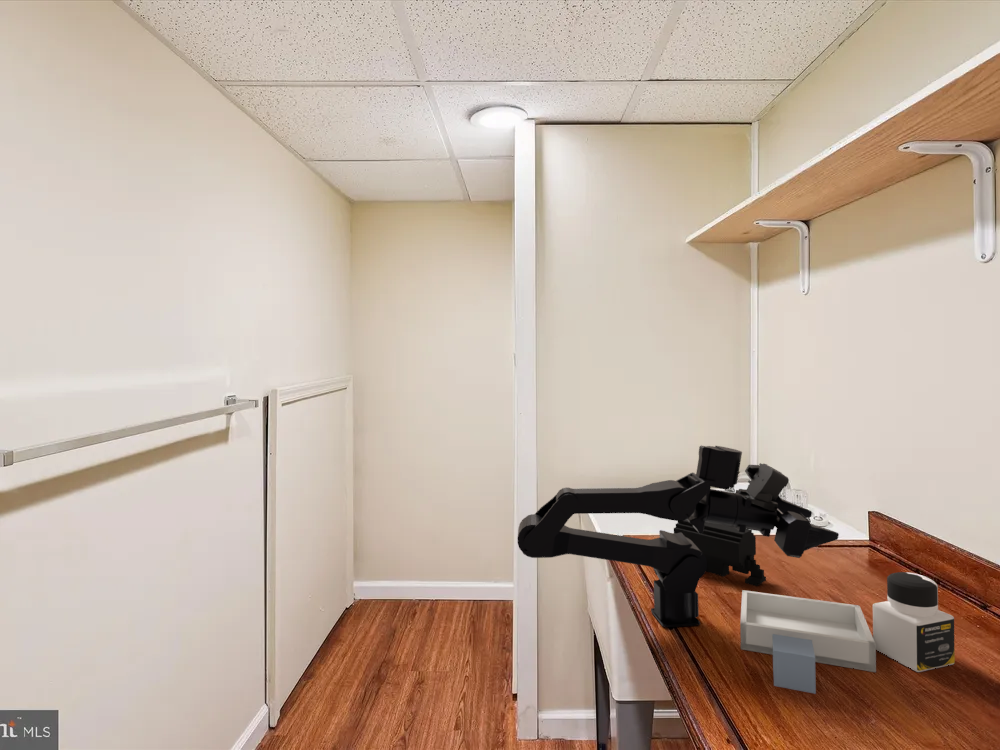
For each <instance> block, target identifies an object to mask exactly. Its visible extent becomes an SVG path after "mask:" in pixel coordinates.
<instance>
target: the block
mask: <svg viewBox="0 0 1000 750" xmlns="http://www.w3.org/2000/svg"><path fill="white" fill-rule="evenodd" d="M772 637H773V655H772V671H773V672H772V674H773V686H774V687H778V688H784V689H789V690H794V691H799V692H805V693H810V694H814V695H816V694H817V691H816V689H817V686H816V685H817V684H816V680H817V679H816V662H815V654H814V649H813V644H812V640H808V639H801V638H795V637H789V636H782V635H776V634H772Z"/></svg>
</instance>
